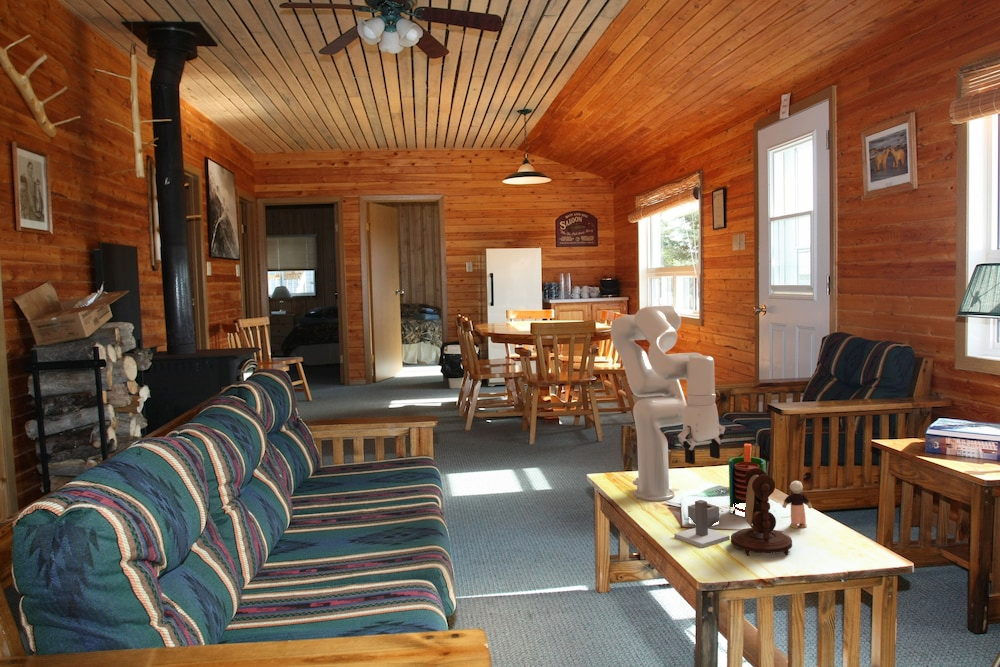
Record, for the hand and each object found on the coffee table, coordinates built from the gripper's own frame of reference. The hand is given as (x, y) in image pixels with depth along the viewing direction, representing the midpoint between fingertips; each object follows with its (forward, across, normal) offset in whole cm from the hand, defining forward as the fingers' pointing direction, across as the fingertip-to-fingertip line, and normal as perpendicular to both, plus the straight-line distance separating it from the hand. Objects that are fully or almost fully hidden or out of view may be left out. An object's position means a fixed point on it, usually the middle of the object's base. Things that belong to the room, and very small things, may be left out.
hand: (702, 460), depth 210 cm
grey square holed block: (+18, 0, 0) cm, 18 cm away
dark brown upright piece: (+18, +3, +22) cm, 29 cm away
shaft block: (+18, +9, +8) cm, 22 cm away
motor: (+18, -17, +1) cm, 25 cm away
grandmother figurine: (+18, -18, +17) cm, 31 cm away
